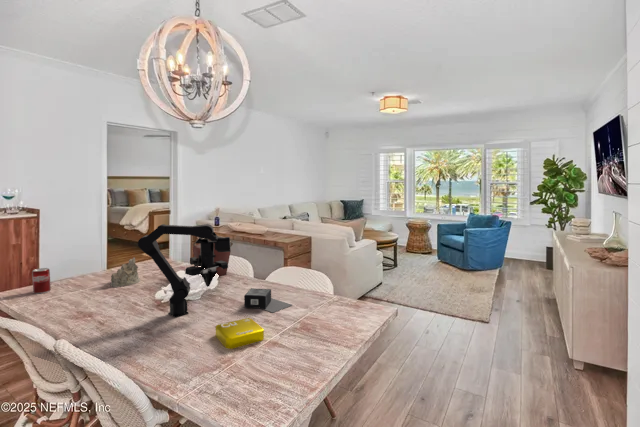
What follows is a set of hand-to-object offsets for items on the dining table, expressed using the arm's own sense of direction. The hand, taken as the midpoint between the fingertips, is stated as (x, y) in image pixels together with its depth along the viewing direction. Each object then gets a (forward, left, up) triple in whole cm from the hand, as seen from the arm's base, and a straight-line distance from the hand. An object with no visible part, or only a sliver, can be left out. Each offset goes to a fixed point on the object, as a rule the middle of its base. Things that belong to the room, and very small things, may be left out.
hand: (207, 286), depth 160 cm
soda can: (-41, +90, -12) cm, 100 cm away
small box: (+16, -14, -9) cm, 23 cm away
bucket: (+38, +53, -12) cm, 66 cm away
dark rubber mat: (+25, -15, -12) cm, 32 cm away
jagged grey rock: (-5, +76, -12) cm, 77 cm away
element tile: (-7, -32, -13) cm, 35 cm away
